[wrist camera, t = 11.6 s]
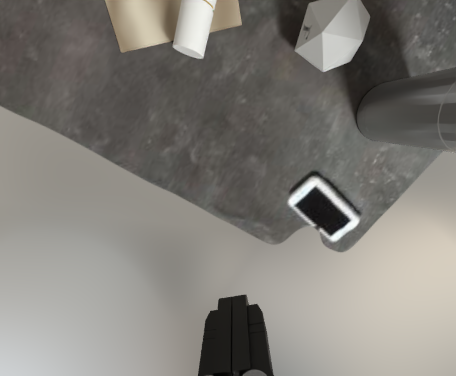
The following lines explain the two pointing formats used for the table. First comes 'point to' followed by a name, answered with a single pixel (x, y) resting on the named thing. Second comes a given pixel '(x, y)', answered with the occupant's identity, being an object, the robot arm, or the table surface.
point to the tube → (193, 27)
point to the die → (332, 32)
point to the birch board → (160, 20)
